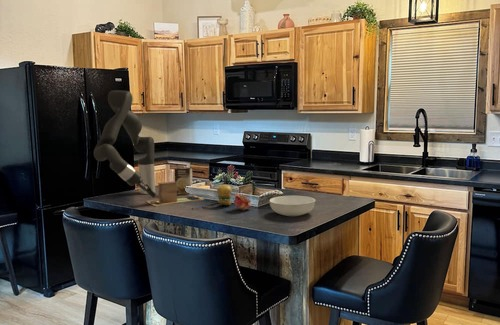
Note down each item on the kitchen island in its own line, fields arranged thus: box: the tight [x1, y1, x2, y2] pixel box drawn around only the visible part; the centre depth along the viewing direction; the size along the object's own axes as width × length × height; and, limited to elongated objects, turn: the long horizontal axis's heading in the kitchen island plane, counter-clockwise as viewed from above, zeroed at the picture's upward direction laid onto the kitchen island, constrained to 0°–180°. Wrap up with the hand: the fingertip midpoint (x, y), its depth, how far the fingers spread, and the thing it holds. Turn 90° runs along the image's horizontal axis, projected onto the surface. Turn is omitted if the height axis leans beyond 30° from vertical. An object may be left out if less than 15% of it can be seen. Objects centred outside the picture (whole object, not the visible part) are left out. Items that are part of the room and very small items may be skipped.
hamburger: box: [216, 183, 233, 206], centre depth 228 cm, size 8×7×12 cm
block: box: [157, 180, 178, 204], centre depth 233 cm, size 5×8×10 cm, turn 121°
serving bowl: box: [269, 195, 316, 217], centre depth 208 cm, size 21×21×7 cm
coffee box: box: [174, 166, 193, 195], centre depth 257 cm, size 9×6×16 cm
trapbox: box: [145, 194, 206, 207], centre depth 236 cm, size 14×27×2 cm, turn 121°
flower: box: [232, 193, 253, 211], centre depth 219 cm, size 10×9×8 cm
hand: (154, 196), depth 230 cm, fingers closed
